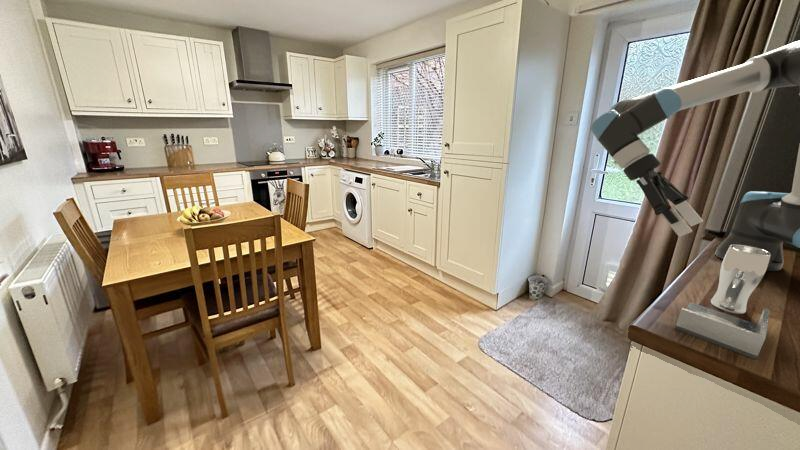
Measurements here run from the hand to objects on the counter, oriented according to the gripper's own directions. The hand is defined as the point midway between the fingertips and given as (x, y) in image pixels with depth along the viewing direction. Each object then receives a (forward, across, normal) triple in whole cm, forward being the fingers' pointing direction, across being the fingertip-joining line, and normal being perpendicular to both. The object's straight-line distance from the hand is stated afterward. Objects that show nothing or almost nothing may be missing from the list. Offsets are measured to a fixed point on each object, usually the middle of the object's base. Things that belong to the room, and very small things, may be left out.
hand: (692, 228), depth 79 cm
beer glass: (+20, 0, -5) cm, 20 cm away
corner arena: (+20, +14, -5) cm, 24 cm away
